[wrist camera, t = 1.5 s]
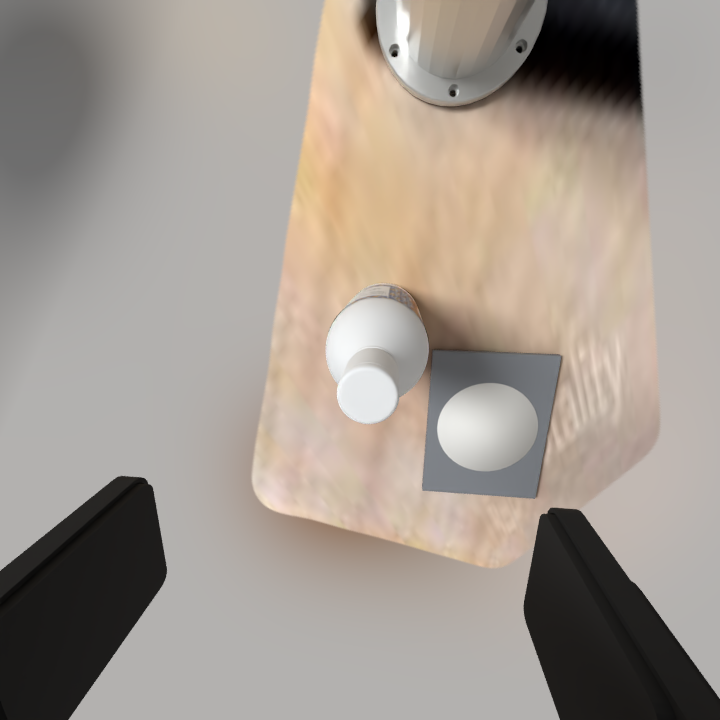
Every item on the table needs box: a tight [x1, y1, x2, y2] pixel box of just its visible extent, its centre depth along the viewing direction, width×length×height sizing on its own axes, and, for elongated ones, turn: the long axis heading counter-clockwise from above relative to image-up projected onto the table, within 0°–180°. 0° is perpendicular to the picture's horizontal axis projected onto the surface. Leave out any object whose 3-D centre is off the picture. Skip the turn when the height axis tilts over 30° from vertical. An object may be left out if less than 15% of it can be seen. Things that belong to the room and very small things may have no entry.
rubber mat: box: [422, 350, 561, 499], centre depth 38 cm, size 16×12×1 cm
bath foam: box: [326, 283, 429, 424], centre depth 26 cm, size 7×7×20 cm
